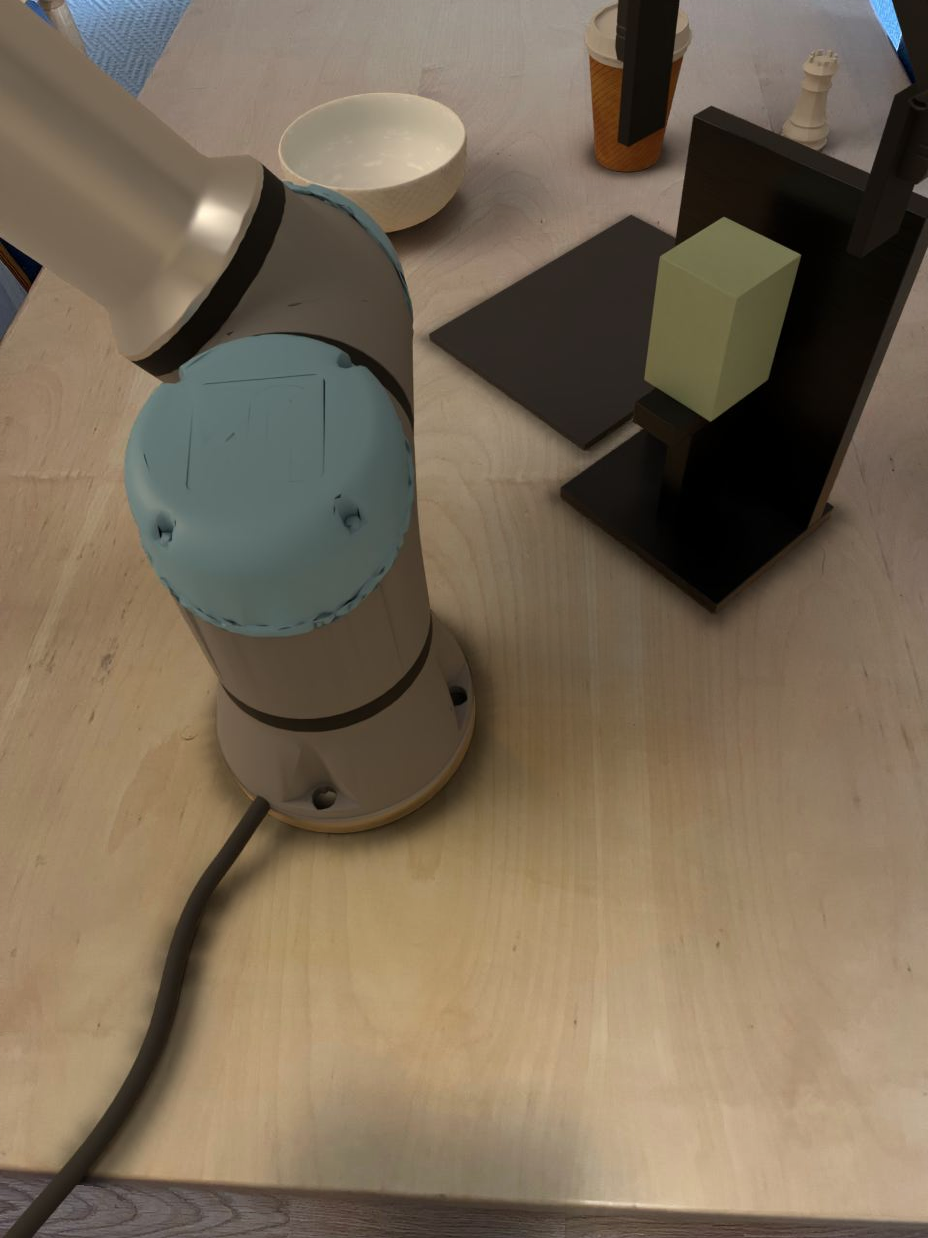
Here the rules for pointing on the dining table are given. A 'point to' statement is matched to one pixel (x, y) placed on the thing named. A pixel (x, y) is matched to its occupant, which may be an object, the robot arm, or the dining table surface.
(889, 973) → the dining table surface
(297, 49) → the dining table surface
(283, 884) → the dining table surface
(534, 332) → the desk mat
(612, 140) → the disposable coffee cup
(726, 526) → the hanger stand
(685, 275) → the sage block
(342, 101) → the cereal bowl
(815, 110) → the rook chess piece
